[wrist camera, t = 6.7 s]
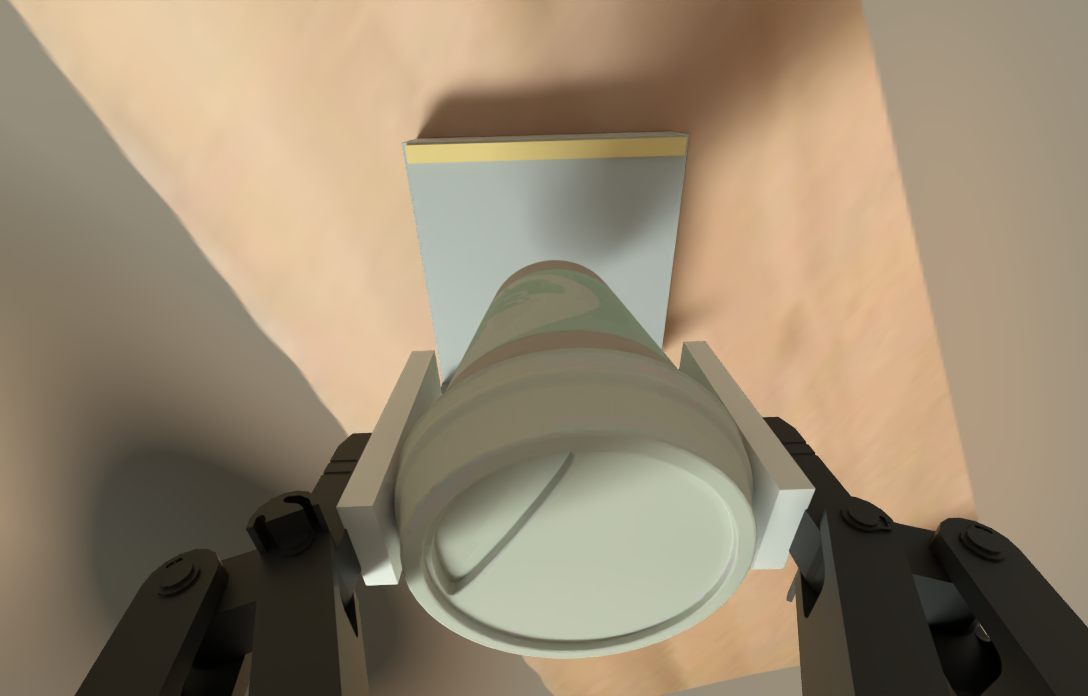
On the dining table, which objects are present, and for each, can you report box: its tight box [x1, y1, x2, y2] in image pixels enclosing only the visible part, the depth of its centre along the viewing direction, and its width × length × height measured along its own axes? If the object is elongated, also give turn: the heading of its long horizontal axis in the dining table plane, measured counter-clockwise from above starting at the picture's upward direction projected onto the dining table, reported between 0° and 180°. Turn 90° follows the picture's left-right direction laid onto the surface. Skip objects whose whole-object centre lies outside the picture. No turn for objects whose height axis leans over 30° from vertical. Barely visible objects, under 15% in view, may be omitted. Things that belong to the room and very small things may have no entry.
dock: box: [402, 131, 690, 394], centre depth 25 cm, size 15×14×5 cm
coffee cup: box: [394, 260, 757, 658], centre depth 14 cm, size 8×8×12 cm
